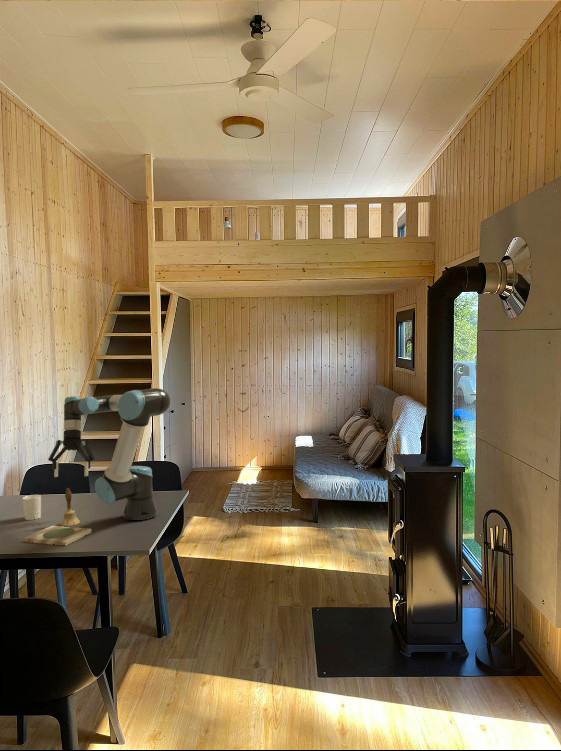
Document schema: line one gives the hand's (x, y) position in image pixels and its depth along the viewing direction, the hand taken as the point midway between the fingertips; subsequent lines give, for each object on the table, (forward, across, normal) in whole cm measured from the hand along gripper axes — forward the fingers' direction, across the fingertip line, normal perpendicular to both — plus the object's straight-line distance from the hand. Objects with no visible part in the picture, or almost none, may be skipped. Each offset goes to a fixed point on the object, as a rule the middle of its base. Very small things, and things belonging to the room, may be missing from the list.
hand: (71, 476), depth 247 cm
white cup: (+18, +10, -20) cm, 29 cm away
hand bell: (+21, 0, 0) cm, 21 cm away
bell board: (+26, +10, +14) cm, 31 cm away
